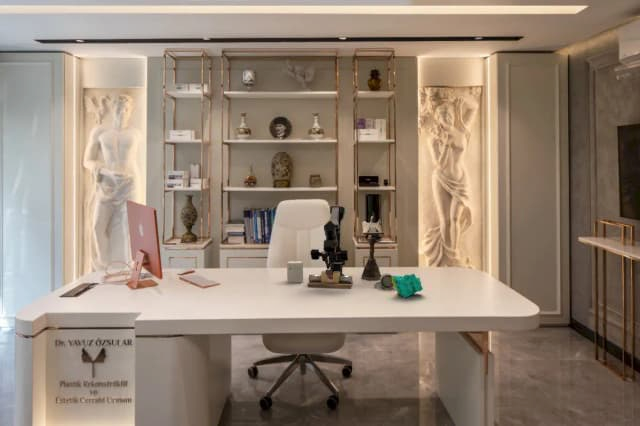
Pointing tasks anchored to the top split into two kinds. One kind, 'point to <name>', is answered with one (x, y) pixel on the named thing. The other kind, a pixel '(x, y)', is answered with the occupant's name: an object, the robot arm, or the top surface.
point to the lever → (329, 274)
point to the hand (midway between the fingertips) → (327, 268)
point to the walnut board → (330, 284)
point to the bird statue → (372, 249)
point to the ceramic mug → (385, 281)
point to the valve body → (336, 278)
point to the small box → (295, 271)
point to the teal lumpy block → (406, 284)
